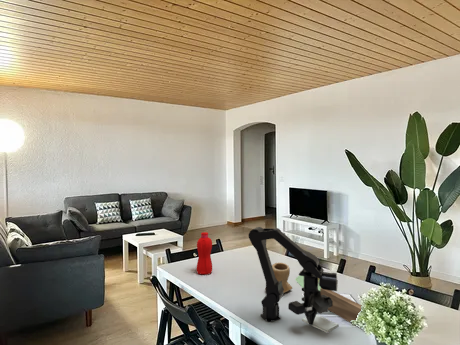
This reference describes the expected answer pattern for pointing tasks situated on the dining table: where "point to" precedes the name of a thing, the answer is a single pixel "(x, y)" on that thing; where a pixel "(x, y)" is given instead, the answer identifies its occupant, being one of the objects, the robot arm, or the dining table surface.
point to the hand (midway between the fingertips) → (310, 324)
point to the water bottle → (204, 254)
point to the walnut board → (342, 305)
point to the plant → (301, 281)
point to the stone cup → (282, 275)
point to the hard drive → (322, 323)
